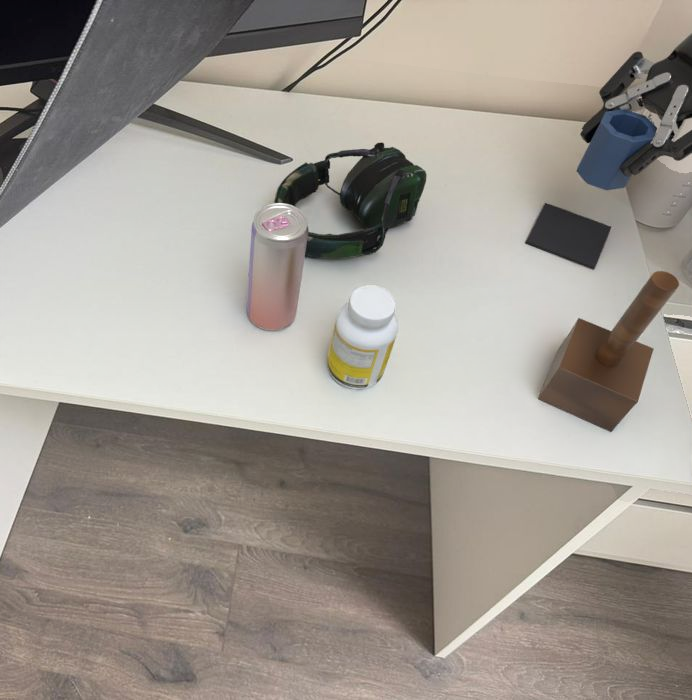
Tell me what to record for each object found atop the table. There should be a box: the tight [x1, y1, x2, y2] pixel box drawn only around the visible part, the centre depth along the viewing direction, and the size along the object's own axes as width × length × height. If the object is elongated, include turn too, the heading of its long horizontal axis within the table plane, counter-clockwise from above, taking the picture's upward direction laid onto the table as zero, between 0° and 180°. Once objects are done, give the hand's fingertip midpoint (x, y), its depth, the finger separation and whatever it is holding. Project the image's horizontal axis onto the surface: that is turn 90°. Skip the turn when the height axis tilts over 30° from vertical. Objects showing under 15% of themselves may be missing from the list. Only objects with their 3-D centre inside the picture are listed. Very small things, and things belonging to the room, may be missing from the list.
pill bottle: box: [326, 284, 399, 390], centre depth 76 cm, size 6×6×12 cm
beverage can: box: [246, 202, 309, 332], centre depth 79 cm, size 6×6×15 cm
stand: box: [537, 270, 680, 432], centre depth 72 cm, size 8×8×18 cm
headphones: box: [273, 142, 427, 260], centre depth 92 cm, size 13×13×20 cm
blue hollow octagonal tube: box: [575, 109, 658, 191], centre depth 84 cm, size 6×6×7 cm
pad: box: [524, 202, 612, 270], centre depth 94 cm, size 9×9×1 cm
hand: (603, 155), depth 83 cm, fingers closed on blue hollow octagonal tube, 6 cm apart
